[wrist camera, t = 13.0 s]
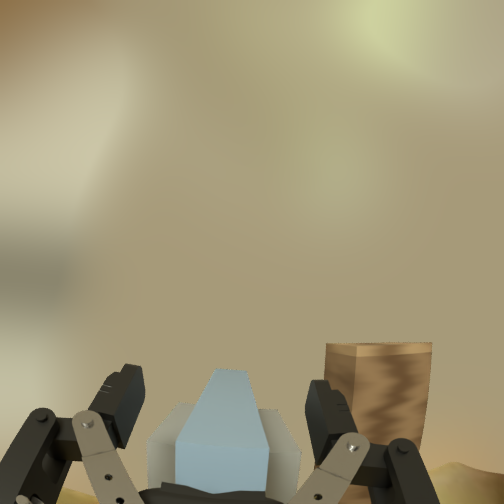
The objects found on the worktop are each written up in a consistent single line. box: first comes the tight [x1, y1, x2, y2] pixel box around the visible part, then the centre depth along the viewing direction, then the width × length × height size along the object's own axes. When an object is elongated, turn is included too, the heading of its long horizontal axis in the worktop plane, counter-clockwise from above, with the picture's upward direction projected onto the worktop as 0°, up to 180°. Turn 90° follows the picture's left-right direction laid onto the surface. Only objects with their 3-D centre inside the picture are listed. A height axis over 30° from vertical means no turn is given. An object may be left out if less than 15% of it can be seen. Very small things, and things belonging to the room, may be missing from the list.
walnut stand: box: [314, 342, 432, 504], centre depth 27 cm, size 9×10×32 cm
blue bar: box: [175, 369, 270, 494], centre depth 20 cm, size 4×24×4 cm, turn 3°
